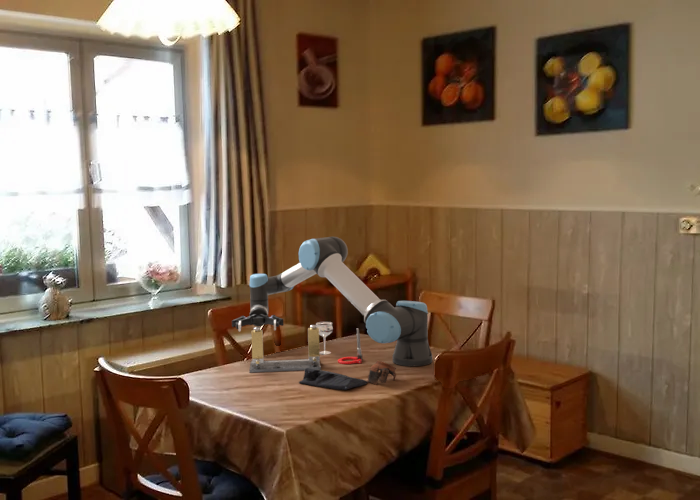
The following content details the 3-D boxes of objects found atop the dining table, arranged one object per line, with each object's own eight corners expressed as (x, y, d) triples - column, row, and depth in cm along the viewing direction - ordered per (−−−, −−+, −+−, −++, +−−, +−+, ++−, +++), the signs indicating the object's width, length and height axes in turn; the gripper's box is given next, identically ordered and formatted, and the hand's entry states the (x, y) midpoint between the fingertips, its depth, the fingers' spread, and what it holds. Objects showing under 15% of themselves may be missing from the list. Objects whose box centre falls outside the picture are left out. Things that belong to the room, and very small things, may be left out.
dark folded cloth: (343, 395, 249) (343, 381, 249) (294, 384, 263) (294, 370, 262) (371, 384, 261) (371, 370, 260) (323, 374, 275) (323, 361, 274)
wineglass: (318, 350, 307) (317, 321, 305) (334, 350, 306) (333, 321, 304) (315, 354, 300) (314, 325, 299) (331, 355, 299) (331, 325, 298)
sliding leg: (263, 360, 285) (262, 326, 284) (263, 365, 278) (261, 330, 276) (252, 361, 285) (251, 326, 283) (252, 366, 278) (250, 330, 276)
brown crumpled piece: (362, 380, 266) (371, 358, 267) (386, 391, 267) (395, 369, 269) (370, 381, 254) (379, 358, 256) (395, 392, 255) (404, 369, 257)
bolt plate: (318, 360, 291) (317, 321, 289) (320, 369, 279) (319, 328, 277) (250, 363, 288) (249, 324, 287) (249, 372, 277) (247, 331, 275)
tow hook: (337, 365, 285) (361, 364, 285) (334, 332, 284) (359, 330, 283) (338, 360, 294) (362, 358, 293) (336, 327, 292) (360, 326, 292)
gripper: (289, 323, 314) (289, 335, 293) (228, 325, 311) (224, 338, 290) (288, 305, 313) (289, 316, 292) (227, 307, 310) (224, 318, 289)
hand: (257, 327), depth 291 cm, fingers open, 13 cm apart
